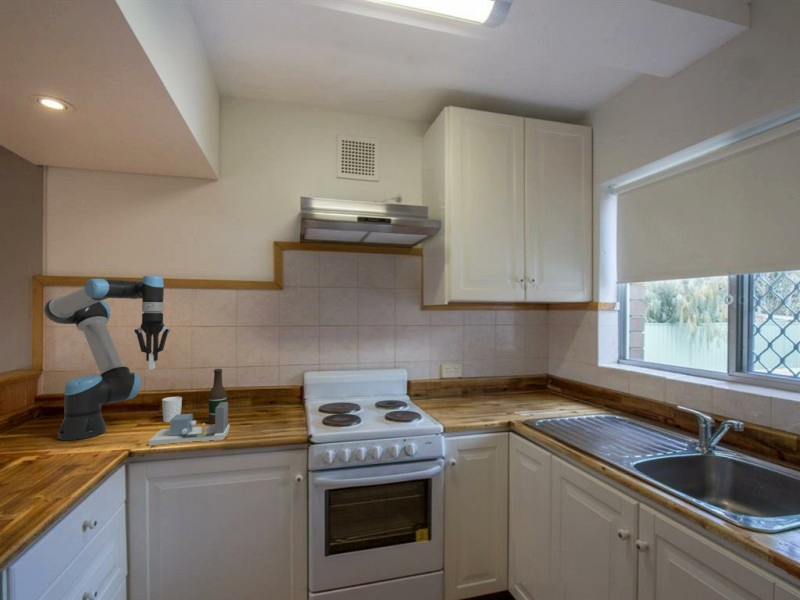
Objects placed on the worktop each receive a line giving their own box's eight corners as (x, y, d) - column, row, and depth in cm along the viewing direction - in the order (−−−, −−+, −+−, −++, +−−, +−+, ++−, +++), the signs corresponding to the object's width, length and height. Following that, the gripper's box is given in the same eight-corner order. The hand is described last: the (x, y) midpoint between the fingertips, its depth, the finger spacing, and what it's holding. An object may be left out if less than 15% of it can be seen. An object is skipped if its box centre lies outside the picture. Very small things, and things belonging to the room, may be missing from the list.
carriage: (167, 438, 145) (167, 422, 145) (176, 429, 156) (176, 414, 156) (190, 436, 147) (191, 420, 147) (197, 427, 158) (198, 413, 158)
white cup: (166, 423, 171) (166, 401, 171) (159, 420, 176) (159, 398, 176) (184, 419, 177) (185, 398, 178) (177, 416, 182) (177, 395, 182)
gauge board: (148, 446, 143) (148, 413, 144) (161, 434, 157) (161, 404, 157) (223, 439, 150) (224, 409, 150) (229, 428, 164) (230, 400, 164)
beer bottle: (205, 422, 173) (205, 369, 174) (222, 418, 179) (223, 367, 180) (212, 425, 168) (212, 371, 169) (229, 422, 174) (230, 369, 174)
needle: (201, 434, 148) (201, 424, 148) (202, 432, 150) (203, 423, 150) (203, 433, 149) (204, 424, 149) (205, 432, 151) (205, 423, 151)
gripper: (131, 312, 155) (130, 370, 155) (167, 312, 159) (166, 369, 158) (138, 312, 163) (137, 368, 162) (172, 312, 166) (172, 366, 165)
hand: (152, 368), depth 160 cm, fingers closed
